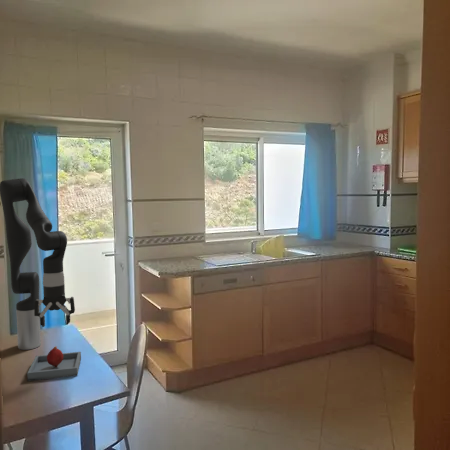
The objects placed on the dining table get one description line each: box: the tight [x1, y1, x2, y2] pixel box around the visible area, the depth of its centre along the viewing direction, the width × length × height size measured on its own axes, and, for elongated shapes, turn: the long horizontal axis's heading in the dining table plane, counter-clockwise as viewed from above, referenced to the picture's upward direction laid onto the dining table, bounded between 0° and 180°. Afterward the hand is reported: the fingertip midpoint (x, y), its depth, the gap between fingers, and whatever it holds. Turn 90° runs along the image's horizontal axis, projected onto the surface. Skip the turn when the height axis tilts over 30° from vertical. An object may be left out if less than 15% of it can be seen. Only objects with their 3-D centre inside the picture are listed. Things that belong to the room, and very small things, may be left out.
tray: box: [26, 351, 82, 382], centre depth 161 cm, size 17×17×3 cm
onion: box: [46, 346, 63, 367], centre depth 161 cm, size 6×6×8 cm
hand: (55, 325), depth 161 cm, fingers open, 8 cm apart
